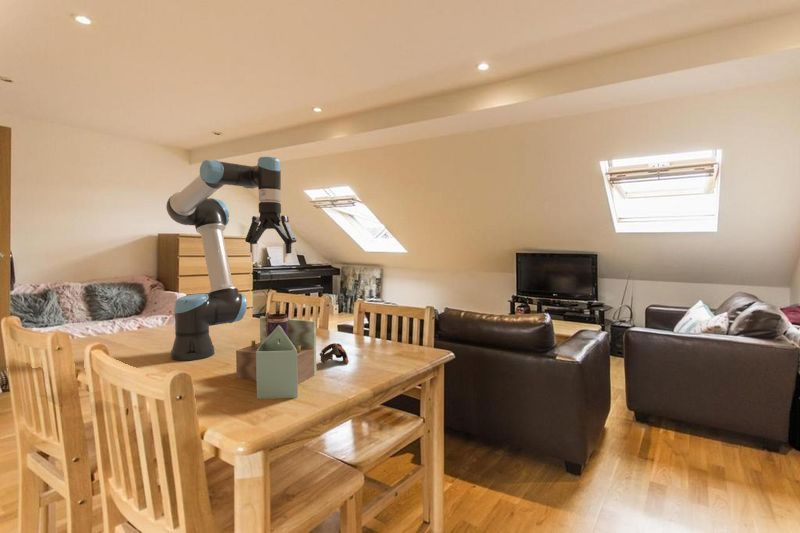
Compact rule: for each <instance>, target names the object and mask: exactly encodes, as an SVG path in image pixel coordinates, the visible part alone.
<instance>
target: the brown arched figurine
mask: <svg viewBox="0 0 800 533" xmlns="http://www.w3.org/2000/svg"><path fill="white" fill-rule="evenodd" d="M328 351H329V352H328ZM347 354H348V353H347V352H346V350H345V349H344V348H343V346H342V344H340V343H336V342H333V343H330V344H328V345H327V346H325V347H324V348H323V349H321V352H320V353H319V356H320V362H321V363H322V364H324V363H325V362H327V361H329V360H330V361H334V359H333V356H335V359H340V358H342V361H344V362H345V364H346V365H348V364H349V357H348V355H347Z"/></svg>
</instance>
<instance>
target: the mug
mask: <svg viewBox="0 0 800 533" xmlns="http://www.w3.org/2000/svg"><path fill="white" fill-rule="evenodd" d="M265 317H266V336H267V337H268V336H269V335H270V334H271V333H272V332H273V331H274V330H275V329H276V327H277V326H278V325H279V326H280V327H281V328H282V330H283V331H284V333H285V334H286V335H287V337H288V319H289V317H288V314H287V313H273V312H271V311H269V312H266V313H265ZM288 338H289V337H288ZM278 342H279V344H280V338H279V340H278Z"/></svg>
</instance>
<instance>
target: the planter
mask: <svg viewBox="0 0 800 533" xmlns="http://www.w3.org/2000/svg"><path fill="white" fill-rule="evenodd" d="M279 338H280V344H279V342H278V340H279ZM256 380H257V381H256V399H258V400H270V399H271V400H274V399H297V398H298V397H299V394H298V389H299V388H298V385H299V384H298V376H297V350H296V348H295V347H294V345H293V344H292V342H291V341H290V340H289V338H288V337H287V335H286V334H285V333H284V331H283V330H282V328H281V327H280V326H279V325H278V326H277V327H276V329H275V330H274V331H273V332H272V333H271V334H270V335H269V336H268V337H267V338H266V339H265V340H264V341H263V342H262V344H261V345H260V346H259V348H258V349H257V351H256Z"/></svg>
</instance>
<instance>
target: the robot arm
mask: <svg viewBox="0 0 800 533" xmlns="http://www.w3.org/2000/svg"><path fill="white" fill-rule="evenodd" d="M281 171H282V170H281V161H280V159H279V158H277V157H273V156H260V157H258V159H257V165H254V166H253V165H252V166H251V165H245V164H240V163H239V164H238V163H231V162H227V161H225V162H224V161H219V160H211V159H206V160H203V161H202V162H201V164H200V167H199V175H198V176H196V177H195V178H194V179H193V180H192V181H191V182H190V183H189V184H187V186H185V187H184V188H183V189H182V190H181V191H178V192H175V193H173V194H172V195H171V196H170V197H169V198H168V200H167V201H166V208H165V209H166V211H167V213H168V216H169V217H170V218H171V219H172V220H173V221H174V222H176V223H178V224H179V225H183V226H193V227H195V231H196V233H197V234H199V235H200V237H201V242H202V248H203V253H204V258H205V265H206V271H207V275H208V281H209V285H210V286H209V287H210V290H209V291H208V292H207V293H202V292H201V293H193V294H188V295H187V294H186V295H183V296H180V297H178V298H177V299H176V300H175V301H174V310H173V312H174V329H175V330H174V331H175V332H174V334H175V338H174V341H173V343H172V344H173V345H172V349H171V350H170V359H172V360H175V361H194V360H201V359H205V358H210V357H211V356H214V355H215V346H214V345H213V340H212V338H211V336H210V327H212V326H218V325H224V324H232V323H236V322H237V323H238V322H240V321H242V320H243V318H244V317H245V315H246V312H247V308H248V305H247V304H248V302H247V298H246V296H245V294H243V293H240V292H239V289H238V286H237V287H236V286H235V285H234V284H233V278H232V273H231V268H230V267H231V266H230V262H229V258H228V251H227V246H226V241H225V237H224V231H225V230H226V229H227V228H226V227H227V225H228V224H229V222H230V218H229V217H230V212H229V211H230V210H229V209H228V206H227V204H226V203H225V202H224V201H223V200H221V199H215V198H213V197H212V198H210V196H212V195H213V194H214V193H215V192H217V191H218V190H219V189H221V188H222V187H223V186H236V187H242V188H245V189H252V190H253V189H256V188H258V201H259V202H258V213H259V216H256V215H254V216H252V218H251V223H250V225H249V226H250V227H249V229H248V232H247V234H246V237H245V240H244V241H245V243H248V244H250V246H249V248H250V250H249V251H250V253H251V263H259V262H260V260H259V259H260V255H259V252H260V251H259V249H260V248H259V243H258V241H259V240H260V239H261V237H262V235H263V234H264V232H265V231H266V230H270V229H271V230H275V231H276V232H277V234H278V236H280V238H281V240H283V244H282V248H283V249H282V251H283V252H282V254H283V255H282V260H283V261H282V263H283V264H289V263H291V257H290V256H291V253H292V244H294V243H296V242H297V238H296V236H295V233H294V231H293V228H292V226H291V223H290V221H289V216H288V215H281V214H282V204H281V201H282V191H281V189H282V188H281V185H282V184H281V181H282V180H281V178H282V177H281V176H282V174H281V173H282V172H281Z"/></svg>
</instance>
